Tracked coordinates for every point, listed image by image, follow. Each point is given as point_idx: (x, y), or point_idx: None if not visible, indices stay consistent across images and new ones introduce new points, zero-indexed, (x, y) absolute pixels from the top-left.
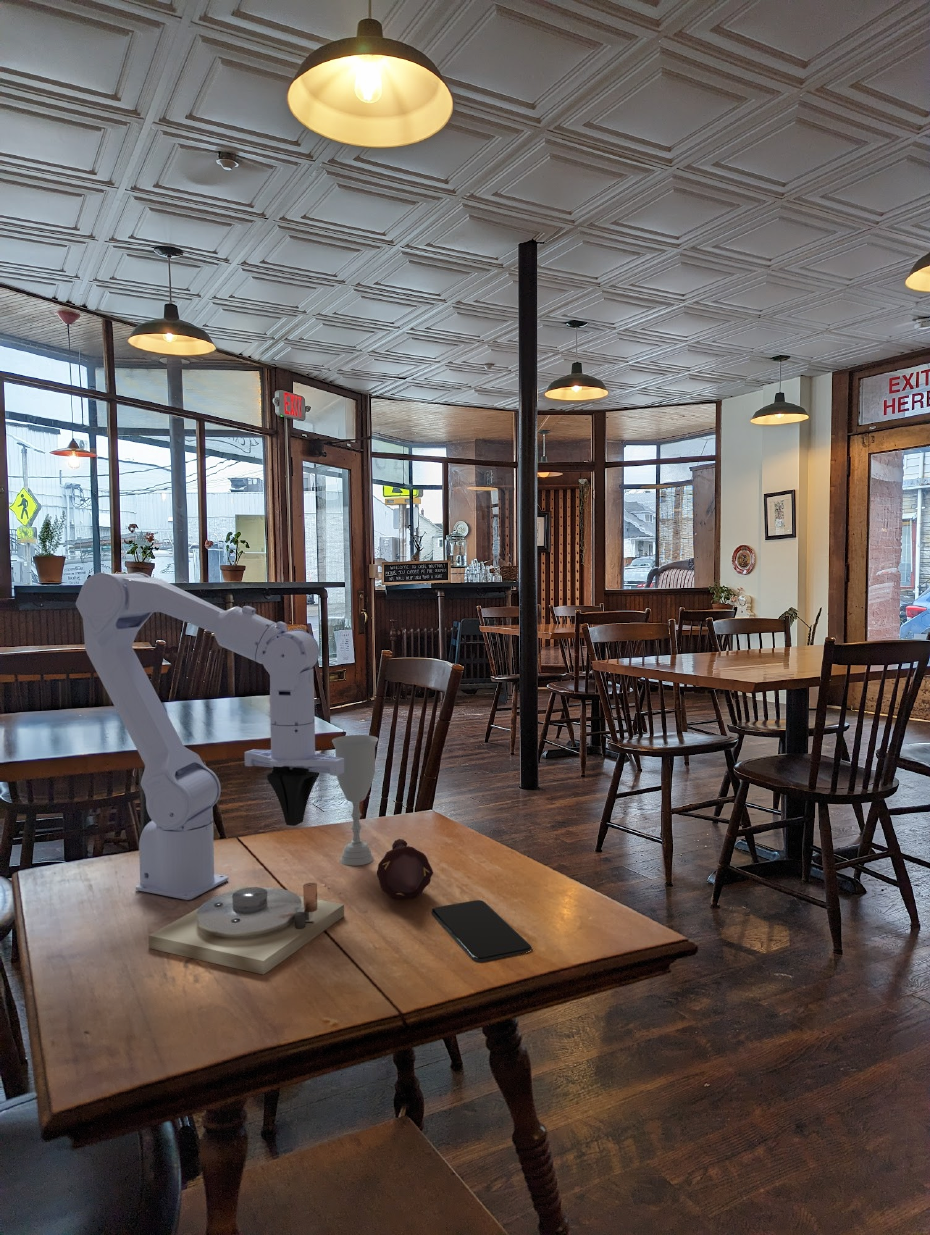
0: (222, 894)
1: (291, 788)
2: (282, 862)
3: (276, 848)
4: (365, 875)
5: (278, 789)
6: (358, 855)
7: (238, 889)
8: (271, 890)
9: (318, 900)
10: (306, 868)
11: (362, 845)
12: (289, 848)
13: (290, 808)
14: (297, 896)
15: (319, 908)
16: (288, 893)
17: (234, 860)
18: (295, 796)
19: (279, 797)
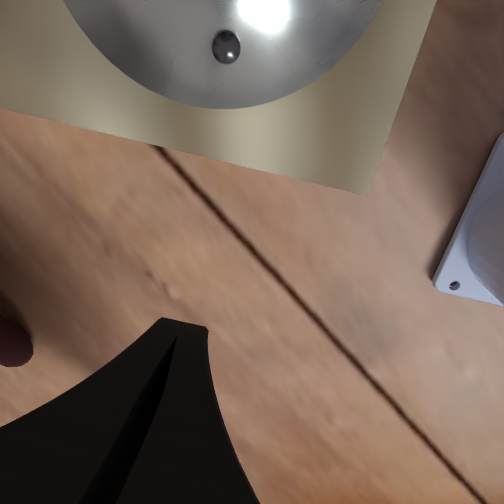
0: (371, 12)
1: (18, 455)
2: (330, 401)
3: (376, 469)
4: (100, 354)
5: (188, 469)
6: None
7: (360, 165)
8: (211, 82)
9: (84, 122)
10: (257, 376)
11: None
12: (345, 472)
13: (140, 363)
14: (99, 45)
15: (50, 62)
16: (141, 66)
17: (457, 400)
18: (41, 407)
19: (205, 422)
